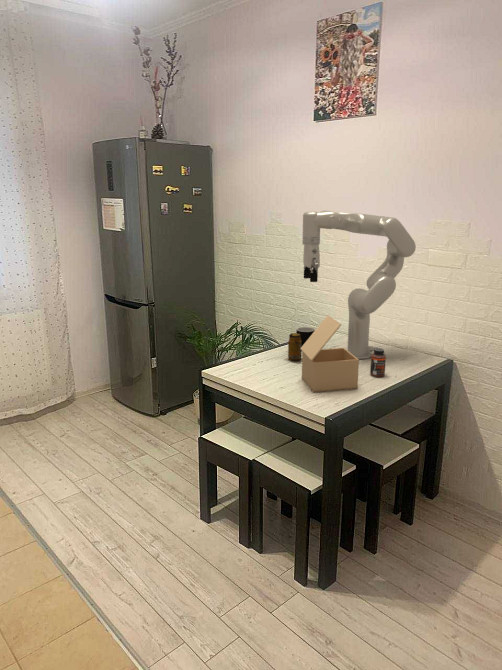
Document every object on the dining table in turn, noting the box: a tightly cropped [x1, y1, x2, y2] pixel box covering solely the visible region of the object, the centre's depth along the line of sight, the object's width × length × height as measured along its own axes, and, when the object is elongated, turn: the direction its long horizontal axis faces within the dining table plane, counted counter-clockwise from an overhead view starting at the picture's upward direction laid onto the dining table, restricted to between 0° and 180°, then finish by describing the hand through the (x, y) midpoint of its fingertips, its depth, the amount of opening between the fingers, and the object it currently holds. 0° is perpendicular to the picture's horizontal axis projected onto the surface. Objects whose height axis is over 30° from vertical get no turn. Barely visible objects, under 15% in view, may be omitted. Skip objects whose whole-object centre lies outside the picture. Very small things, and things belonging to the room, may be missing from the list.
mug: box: [295, 326, 316, 352], centre depth 252 cm, size 12×9×10 cm
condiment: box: [284, 332, 302, 364], centre depth 234 cm, size 7×8×12 cm
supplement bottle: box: [369, 347, 387, 378], centre depth 214 cm, size 6×6×11 cm
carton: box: [301, 347, 360, 393], centre depth 205 cm, size 18×16×12 cm
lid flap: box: [300, 314, 342, 360], centre depth 201 cm, size 18×15×1 cm
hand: (310, 280), depth 227 cm, fingers open, 9 cm apart
